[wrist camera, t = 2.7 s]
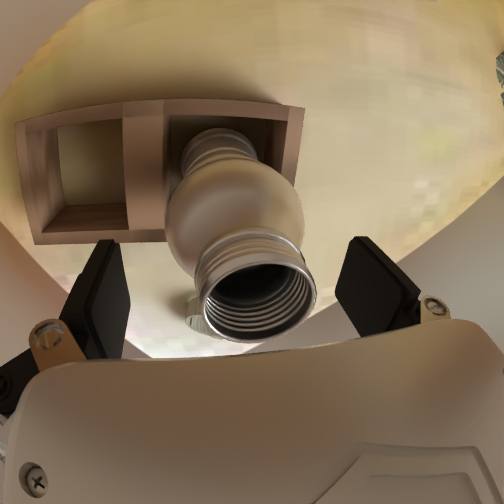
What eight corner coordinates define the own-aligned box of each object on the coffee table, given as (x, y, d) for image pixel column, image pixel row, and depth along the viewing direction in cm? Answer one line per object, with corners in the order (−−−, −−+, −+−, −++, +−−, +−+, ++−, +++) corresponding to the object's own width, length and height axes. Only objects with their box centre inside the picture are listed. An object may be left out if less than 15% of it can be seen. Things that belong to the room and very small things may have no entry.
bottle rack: (47, 114, 18) (14, 123, 13) (282, 104, 23) (305, 108, 18) (58, 217, 24) (34, 244, 19) (268, 212, 29) (284, 240, 24)
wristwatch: (261, 298, 36) (269, 325, 31) (244, 330, 38) (250, 357, 34) (192, 284, 32) (192, 313, 28) (180, 319, 35) (180, 348, 31)
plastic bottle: (244, 193, 27) (318, 363, 11) (177, 184, 26) (151, 363, 9) (259, 131, 24) (390, 229, 8) (188, 119, 22) (153, 191, 6)
